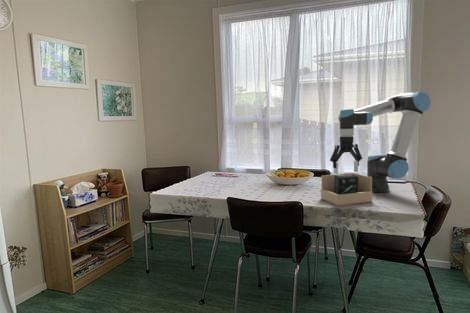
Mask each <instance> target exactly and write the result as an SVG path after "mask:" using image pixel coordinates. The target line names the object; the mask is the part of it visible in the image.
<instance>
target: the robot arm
mask: <svg viewBox="0 0 470 313" xmlns="http://www.w3.org/2000/svg"><path fill="white" fill-rule="evenodd" d="M431 103H432V102H431V98H430V95H429V94H428V93H427V92H425V91H413V92H412V91H411V92H401V93H398V94H397V95H393V96H390V97H387V98H385V99H384V100H382V101H379V102H376V103H373V104H370V105H366V106H364V107H360V108H357V109H354V108H342V109H340V112H339V116H338V122H339V144H335V145H334V149H333V152H332V154H331V156H330V160H329V161H330V162H331V163H332V168H333V174H334V175H335V174H339V160H340V158H341V157H342V155H343V154H344V153H349V154H350V155H351V156H352V157H353V159H354V160H353V173H359V166H360V161H361V160H363V156H362V154H361V151H360V150H359V145H358V143H354V139H355V138H354V130H355V129H354V128H355V126H369V125H371V124H372V123H373V119H374V118H375V117H377V116H381V115H383V114H387V113H389V114H392V113H396V112H400V113H401V114H402V116H401V120H400V123H399V125H398V129H397V131H396V134H395V138H394V140H393V143H392V146H391V149H390V151H389V152H387V153H386V154H374V155H373V154H372V155H368V156H367V159H366V160H367V161H366V164H367V165H366V166H367V167H366V168H367V169H366V171H367V174H366V176H368V177H372V193H388V192H390V185H389V183H388V179H387V178H391V179H398V180H399V179H403V178H404V177H405V176H406V175H407V174H408V172H409V169H410V168H409V163H408V162H407V161H408V158H407V156H406V155H407V152H408V149H409V146H410V144H411V140H412V138H413V134H414V132H415V128H416V126H417V123H418V120H419V118H421V117H422V116H423V114H424V112H426V111H428V110H429V109H430V108H431Z"/></svg>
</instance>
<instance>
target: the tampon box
mask: <svg viewBox="0 0 470 313" xmlns="http://www.w3.org/2000/svg"><path fill="white" fill-rule="evenodd" d="M334 175H335V174H334ZM335 193H336V194H338V195H341V194H349V193H358V177H357V176H355V175H353V174H347V175H335Z"/></svg>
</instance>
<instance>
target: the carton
mask: <svg viewBox="0 0 470 313" xmlns="http://www.w3.org/2000/svg"><path fill="white" fill-rule="evenodd" d="M347 174H353V175H355V176H357V177H358V193H349V194H341V195H338V194H336V193H335V175H347ZM320 199H321V200H323V201H326V202H328V203H330V204H333V205H335V206H338V207H342V206H348V205H354V204H355V205H356V204H363V203H370V202H373V192H372V177H368V176H367V175H364V174H360V173H357V172H347V173H338V174H335V173H334V174H328V175H327V174H326V175H321V188H320Z"/></svg>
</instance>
